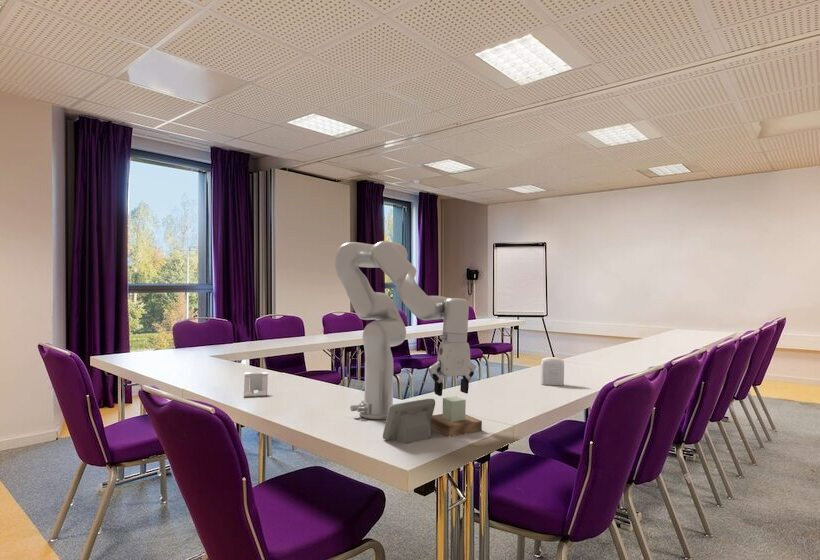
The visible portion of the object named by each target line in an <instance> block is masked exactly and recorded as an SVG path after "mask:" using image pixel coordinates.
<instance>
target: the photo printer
mask: <svg viewBox="0 0 820 560" xmlns="http://www.w3.org/2000/svg"><path fill="white" fill-rule="evenodd" d="M564 380H565V361H564V359H562V358H559V357H555V356H554V357H553V356H549V357H544V358H541V362H540V384H541V385H542V386H543V385H544V386H561V387H562V386H564V384H565V381H564Z"/></svg>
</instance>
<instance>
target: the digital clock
mask: <svg viewBox="0 0 820 560" xmlns="http://www.w3.org/2000/svg"><path fill="white" fill-rule="evenodd" d="M435 406H436V400H435V399H434V398H425V399H418V400H413V401H405V402H400V403H393V405H391V406H390V408H389V411H388V415H387V419H385V424H384V428H383V433H382V439H383V440H386V441H391V440H397V441H398V442H400V443H403V444H405V445H406V444H411V443H415V442H419V441H424V440H428V439H430V438H431V428H430V422H431V419H432V415H434V410H435V408H436V407H435Z"/></svg>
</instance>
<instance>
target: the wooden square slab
mask: <svg viewBox="0 0 820 560" xmlns="http://www.w3.org/2000/svg"><path fill="white" fill-rule="evenodd" d="M442 417H443V413H440V414H433V415H432V419H431V422H430V429H433V430H435V432H436V431H437V432H439V433H441V434H443V435H445V436H447V437H449V436H450V437H454V436H453V435H456V436H460V435H459V434H462V435H466V434H465V433H467V434H472V433H471V432H473V433H477V432H476V431H479V432H482V429H483V421H482V420H480V419H478V418H475V417H473V416H471V415H469V414H468V415H467V414H466V413H465V420H459V421H453V422H451V421H449V420H447V419H445V418H442Z"/></svg>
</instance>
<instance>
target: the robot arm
mask: <svg viewBox="0 0 820 560" xmlns="http://www.w3.org/2000/svg"><path fill="white" fill-rule="evenodd" d="M334 267H335V272H336V274H337V277H338V278H339V280H340V282H341V284H342V286H343V288H344V290H345V292H346V295H347V297H348V300H349V301H350V303H351V306H352V308H353V310H354V312H355V314H356V316H357V317H358V318H359V319H361V320H364V321H371V320H374V321H371V322H369V323H368V324H367V325H366V326H365V327H364V328H363V332H362V343H363V349H364V397H363V398H364V400H361V403H359V404H351V405H350V406H349V407H350V408H349V409H350V411H351V412H357V413H359V416H361V417H362V418H365V419H369V420H370V419H371V420H386V419H387V415H388V411H389V408H390V406H391V405H393V404H394V401H393V400H394V399H393V397H394V357H393V353H392V350H391V347H397V346H400V345H402V344H403V342H404V341H405V340H406V336H407V329H406V325H405V323H404V321H403V319H402V317H401V315H400V312H399V310H398V308H397V306H396V305H395V303H394V301H393V299H392V298H391V297H390V296H389V295H388V294H387V293H384V292H379V291H378V292H376V291H374V289H373V288H372V286H371V284H370V282H369V279H368V277H366V276H367V275H365V274H364V273H363V272H362V270H361V269H360V268H368V269H369V268H371V269H372V268H376V269H377V268H379V269H381V270H382V272H384V274H385V275H386V276H387V277H388V279H390V280H391V282H392V283H393V284H394V285H395V286H396V291H397V293H398V296H399V298H400V300H401V301H402V303H403V304H404V306H406V308H407V309H408V310H409V311H410V312H411V314H413V315H414V317H416V318H418V319H419V320H422V321H436V320H443V322H442V325H443V326H442V334H440V335H439V339H440V340H441V342H440V344H439V347H438V353H437V359H436V362H435V363H433V364H432V365H430V366H429V367H428V368H427V370H428V372H429V375H430V377H431V379H432V380H433V382H434V389H433V391H434V394H435V395H437V396H439V397H441V396H443V387H444V385H443V382H442V381H443V379H445V377H448V378H453V377H461V379H460V388H459V389H460V392H461V393H464V394H468V393H469V388H470V387H469V386H470V385H469V384H470V381H471V380H472V377H473V376H474V374H475V371H476V369H477V365H476V364H474V363H472V362H471V361H472V360H471V349H470V348H471V347H470V344H469V343H468V342H467V341H468V328H469V327H468V326H469V308H470V303H469V302H470V301H468V299H466V298H460V297H459V298H458V297H448V296H447V297H446V296H442V295H428V294H426V293H425V291H424V290H423V289H422V288H421V287H420V286H419V285H418V283H417V282H416V280H415V277H416V276H417V268H416V267H415V265H413V264H412V263H411V262H410V261H409V260H408V251H407V249H406V247H405V246H404V245H403V244H401V243H399V242H395V241H388V240H381V241H379V242H377V243H375V244H370V243H365V242H357V241H350V242H349V241H348V242H345V243H343V244H342V245H340V246H339V247H338V249H337V251H336V253H335V257H334Z"/></svg>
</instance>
